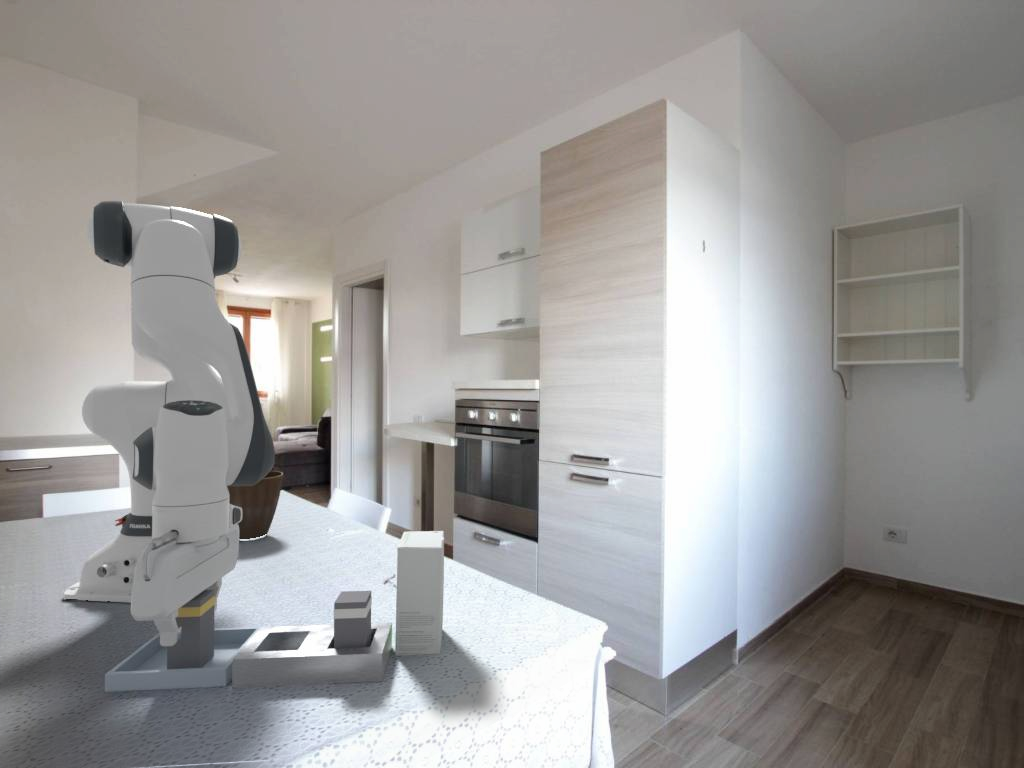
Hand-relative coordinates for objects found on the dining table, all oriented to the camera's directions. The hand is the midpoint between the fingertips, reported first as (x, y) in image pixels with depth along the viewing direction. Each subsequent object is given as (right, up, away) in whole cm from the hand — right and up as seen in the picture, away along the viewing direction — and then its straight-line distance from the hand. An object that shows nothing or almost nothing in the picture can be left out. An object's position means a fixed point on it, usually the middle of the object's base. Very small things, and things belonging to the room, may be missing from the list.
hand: (190, 627), depth 70 cm
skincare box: (+29, -6, +7) cm, 31 cm away
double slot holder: (+17, -6, 0) cm, 18 cm away
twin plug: (+21, -5, 0) cm, 22 cm away
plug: (0, -5, 0) cm, 5 cm away
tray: (0, -6, 0) cm, 6 cm away
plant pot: (-24, -7, +64) cm, 69 cm away
